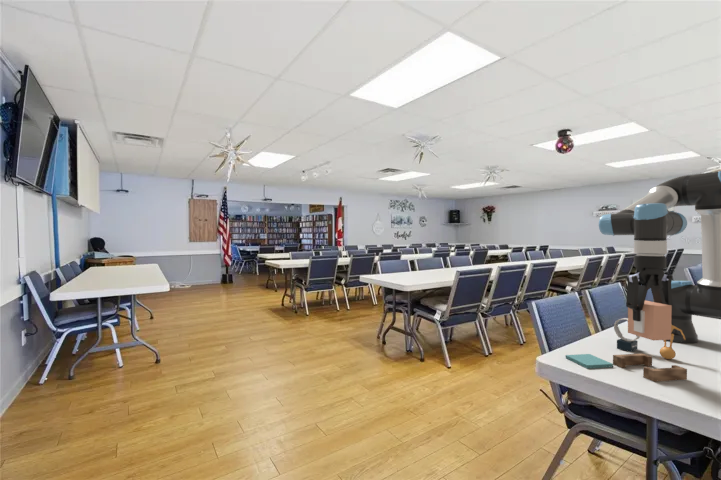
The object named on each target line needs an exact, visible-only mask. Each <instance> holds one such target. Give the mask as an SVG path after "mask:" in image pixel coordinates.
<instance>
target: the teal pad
mask: <svg viewBox="0 0 721 480" xmlns="http://www.w3.org/2000/svg"><path fill="white" fill-rule="evenodd" d="M565 359H567V360H569V361H570V362H573V363H575V364H577V365H580V367H583V368H586V369H602V368H604V369H605V368H613V367H614V365H613V362H609V361H607V360H605V359H603V358H600V357H598V356H596V355H593V354H591V353H581V354H578V353H577V354H566V355H565Z"/></svg>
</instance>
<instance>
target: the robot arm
mask: <svg viewBox="0 0 721 480" xmlns="http://www.w3.org/2000/svg"><path fill="white" fill-rule="evenodd" d="M685 206H687V207H690V206H691V207H692V206H694V211H695V212H697V213H699V215H700V220H701V221H700V225H701V226H700V229H701V232H700V234H701V261H702V264H701V266H702V278H700V279H699V280H697V282H696V285H694V283H693V281H692V280H673V275H672V274H665V272H664V269H666V268H667V257H666V256H665V255H666V254H667V253H668V249H667V248H668V244H667V243H668V241H667V236H675V235H679V234H681V233H683V232H684V231H685V230H686V228H687V226H688V220H687V218H686V216H685V215H683V214H682V213H679V212H677V211H674V210H670V211H668V210H669V209H671V208H675V207H685ZM598 229H599V232H600V233H601V234H602V235H605V236H613V237H614V236H634V237H633V253H634V254H635V255H633V267H635V272H634V274H627V275H626V281H627V287H626V290H627V291H626V305H625V306H626V308H628V307H629V308H630V309H632V310H633V320H634V331H637V332H640V333H645V311H642V309H643V305H644V302H645V300H646V298H647V293H648V291H649V290H650V291H651V294H652V295H651V296H652V302H656V303H661V304H667V305H672V311H671V324H672V325H673V326H675V327H677V328H679V329H680V330H682V332H683V334H684V336H685V339H684V338H683V336H682V334H681V332H680V331H679V330H676V329H673V331H672V333H671V334H674V339H673V341H672V342H673V343H682V344H683V343H684V344H694V343H698V342H699V340H698V339H699V336H698V334H697V332H696V329H695V326H694V324H693V323H694V322H693V316H696V317H703V318H710V319H716V320H721V170H720V171H713V172H705V173H696V174H695V173H694V174H690V175H689V174H686V175H682V176H677V177H674V178H672V179H668V180H667V181H666V180H665V181H664V182H662V183H659V184H658V185H656V186H654V187H652V188H651V189H649V191H648V192H647V194H646V195H645V196H643V197H641V198H639V199H638V200H636V201H635V202H633V203H631V204H630V205H628V206H627V207H624V208H623V209H622V210H620V211H618V212H616V213H608V214H606V213H605V214H602V215H601V216H600V217H599V220H598ZM637 305H638V306H637ZM667 341H668V342H670V341H671V340H666V342H667Z"/></svg>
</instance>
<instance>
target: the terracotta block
mask: <svg viewBox="0 0 721 480" xmlns="http://www.w3.org/2000/svg"><path fill="white" fill-rule="evenodd" d="M637 306H638V305H637ZM642 311H645V333H640V332H637V331H634V320H633V310H632V309H630V308H629V307H627V318H628V321H627V333H628V334H630V335H634V336H636V335H637V336H640V338H643V339H644V338H645V339H646V340H650V341H664V340H666V341H667V340H671V311H672V305H667V304H661V303H656V302H653V301H650V300H646V299H645V302H644V305H643V309H642ZM637 336H636V337H637Z"/></svg>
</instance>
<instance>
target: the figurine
mask: <svg viewBox="0 0 721 480" xmlns="http://www.w3.org/2000/svg"><path fill="white" fill-rule="evenodd" d="M673 329H676V330H679V331H680V332H681V334H682V336H683V338H684V339H685V336H684V334H683V332H682V330H680V329H679V328H677V327H675V326H673V325H672V324H671V333H672V331H673ZM673 339H674V334H671V341H669V346H667V340H663V342H664V344H663V346H662V347H660V349H659V354H660V357H662V358H664V360H665V359H666V360H673V359H675V357H676V351H675V350H674V349H673V348H672V347H673V343H674V342H673Z"/></svg>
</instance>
